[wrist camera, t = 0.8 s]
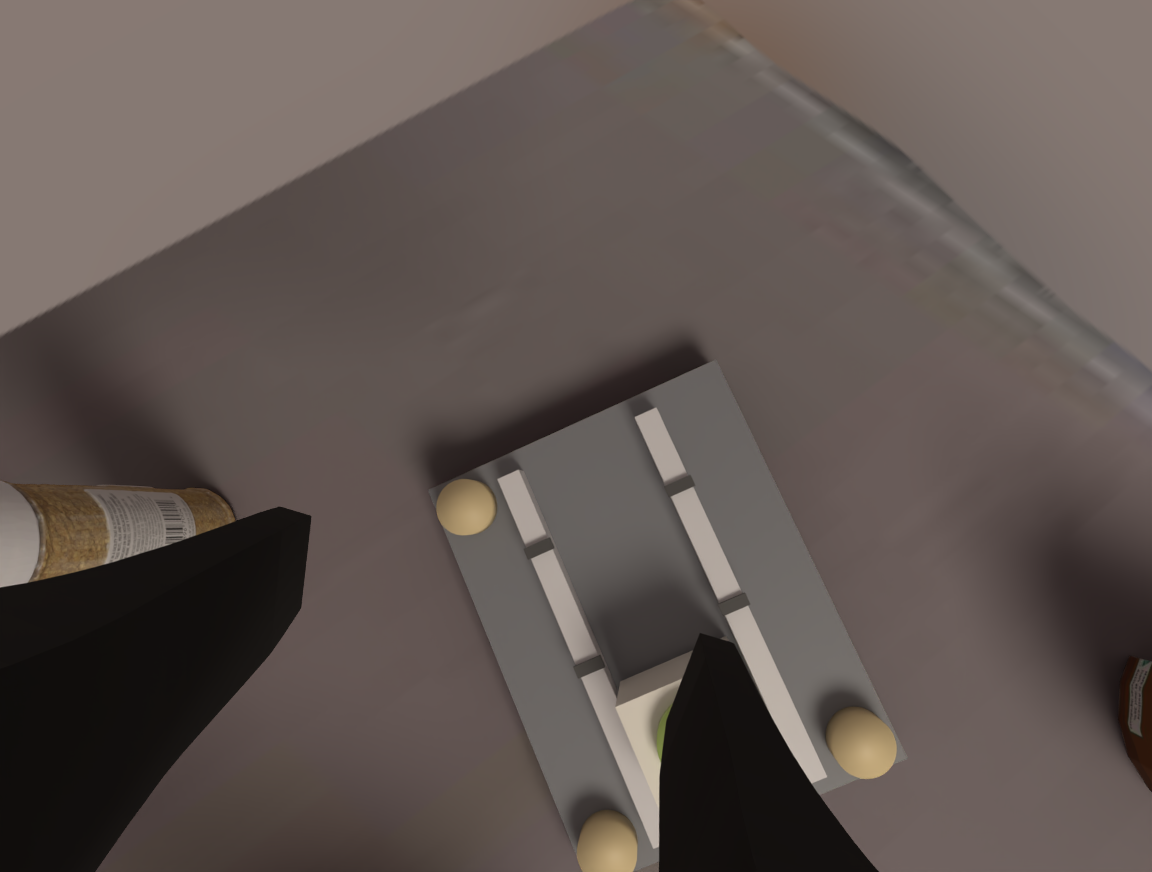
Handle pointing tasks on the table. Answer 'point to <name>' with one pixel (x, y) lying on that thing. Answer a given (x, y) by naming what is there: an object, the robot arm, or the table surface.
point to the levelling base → (652, 599)
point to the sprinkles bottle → (95, 525)
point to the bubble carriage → (650, 712)
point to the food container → (1137, 715)
